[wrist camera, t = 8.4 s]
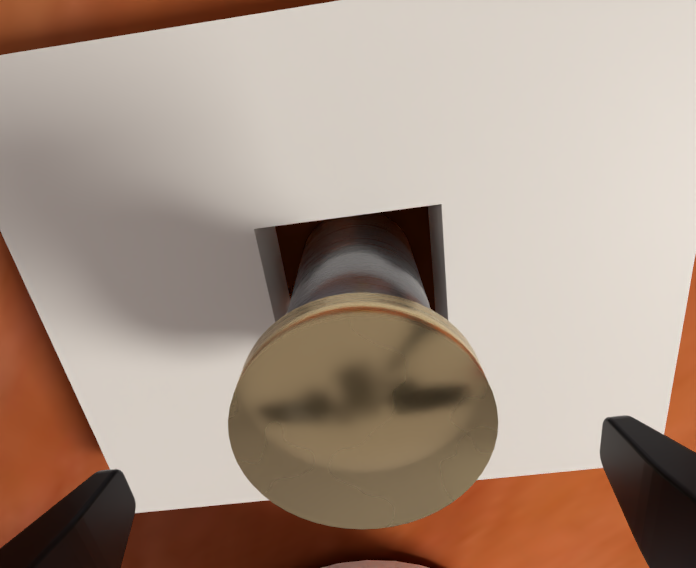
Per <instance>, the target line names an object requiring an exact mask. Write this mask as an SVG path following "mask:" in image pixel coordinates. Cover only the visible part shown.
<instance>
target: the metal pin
mask: <svg viewBox="0 0 696 568" xmlns="http://www.w3.org/2000/svg"><path fill="white" fill-rule="evenodd" d="M228 433H229V440H230V444H231V448H232V451H233V454H234V456H235V459H236V461H237V463H238V465H239V467H240V468H241V470H242V472H243V473H244V475H245V476H246V477H247V479H248V480H249V481H250V482H251V484H252V485H253V486H254V487H255V488H256V489H257V490H258V491H259V492H260V493H261V494H262V495H263V496H265V497H266V498H267V499H269V500H270V501H271V502H273V503H274V504H275V505H277V506H279V507H280V508H282V509H284V510H286V511H287V512H289V513H292V514H294V515H296V516H298V517H300V518H303V519H306V520H309V521H312V522H315V523H318V524H323V525H327V526H331V527H339V528H346V529H378V528H385V527H393V526H397V525H401V524H406V523H410V522H412V521H415V520H418V519H421V518H424V517H426V516H428V515H431V514H433V513H435V512H437V511H439V510H441V509H442V508H444V507H446V506H447V505H449V504H451V503H452V502H453V501H455V500H456V499H457V498H459V497H460V496H461V495H463V494H464V493H465V492H466V491H467V490H468V489H469V488H470V487H471V486H472V485H473V484H474V482H475V481H476V480H477V479H478V478H479V476H480V475H481V474H482V472H483V471H484V469H485V467H486V466H487V464H488V462H489V460H490V458H491V455H492V453H493V450H494V447H495V443H496V439H497V433H498V413H497V406H496V402H495V398H494V395H493V392H492V390H491V387H490V385H489V383H488V381H487V378H486V376H485V374H484V371H483V369H482V367H481V364H480V362H479V360H478V358H477V356H476V354H475V351H474V350H473V348H472V347H471V345H470V344H469V342H468V341H467V339H466V338H465V337H464V336H463V334H462V333H461V332H460V331H459V330H458V329H457V328H456V327H455V326H454V325H453V324H452V323H450V322H449V321H448V320H447V319H445V318H444V317H443V316H441V315H440V314H438V313H436V312H435V311H433V310H431V308H430V305H429V302H428V299H427V296H426V293H425V290H424V287H423V284H422V281H421V278H420V275H419V272H418V269H417V266H416V263H415V260H414V257H413V254H412V251H411V247H410V244H409V242H408V240H407V237H406V235H405V234H404V232H403V231H402V230H401V228H400V227H399V226H398V225H397V224H396V223H395V222H393V221H392V220H391V219H389V218H388V217H386V216H384V215H382V214H380V213H370V214H363V215H355V216H348V217H340V218H333V219H325V220H323V221H321V222H320V223H319V224H318V225H317V226H316V227H315V228H314V229H313V231H312V232H311V234H310V235H309V237H308V239H307V241H306V243H305V247H304V250H303V254H302V258H301V262H300V265H299V269H298V273H297V277H296V281H295V285H294V289H293V293H292V296H291V300H290V304H289V308H288V312H287V314H286V315H284V316H283V317H281V318H280V319H279V320H277V321H276V322H275V323H274V324H273V325H271V326H270V327H269V328H268V329H267V330H266V331H265V332H264V333H263V334H262V336H261V337H260V338H259V339H258V340H257V342H256V343H255V345H254V346H253V348H252V349H251V351H250V353H249V355H248V357H247V359H246V361H245V363H244V366H243V369H242V372H241V374H240V377H239V380H238V383H237V386H236V388H235V391H234V394H233V397H232V401H231V404H230V408H229V417H228Z"/></svg>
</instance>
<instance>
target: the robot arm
mask: <svg viewBox="0 0 696 568" xmlns="http://www.w3.org/2000/svg"><path fill="white" fill-rule="evenodd" d="M600 459H601V463H602V466H603V468H604V470H605V473H606V475H607V477H608V479H609V482H610V484H611V486H612V488H613V491H614V493H615V495H616V498H617V500H618V502H619V504H620V507H621V509H622V511H623V513H624V516H625V518H626V520H627V522H628V525H629V527H630V529H631V531H632V534H633V536H634V538H635V540H636V542H637V544H638V547H639V549H640V551H641V552H642V554H643V556H644V558H645V560H646V562H647V564H648V565H649V567H650V568H696V453H695V452H693V451H692V450H690V449H688V448H686V447H685V446H683V445H681V444H679V443H678V442H676V441H674V440H672V439H670V438H669V437H667V436H665V435H663V434H662V433H660V432H658V431H656V430H655V429H653V428H651V427H649V426H648V425H646V424H644V423H642V422H640V421H639V420H637V419H635V418H633V417H631V416H628V415H623V416H613V417H607V418H605V419H604V421H603V424H602V433H601V443H600ZM135 509H136V503H135V498H134V496H133V494H132V491H131V489H130V487H129V485H128V482H127V480H126V478H125V476H124V474H123V472H122V471H121V470H119V469H112V470H102V471H98V472H96V473H95V474H93V475H92V476H91V477H89V478H88V479H87V480H86V481H84V482H83V483H82V484H81V485H79V486H78V487H77V488H76V489H74V490H73V491H72V492H71V493H69V494H68V495H67V496H66V497H64V498H63V499H62V500H61V501H59V502H58V503H57V504H56V505H54V506H53V507H52V508H51V509H49V510H48V511H47V512H46V513H44V514H43V515H42V516H41V517H39V518H38V519H37V520H36V521H34V522H33V523H32V524H31V525H29V526H28V527H27V528H26V529H24V530H23V531H22V532H20V533H19V534H18V535H17V536H15V537H14V538H13V539H12V540H10V541H9V542H8V543H7V544H5V545H4V546H3V547H2V548H0V568H121V564H122V560H123V556H124V553H125V549H126V545H127V541H128V537H129V534H130V530H131V526H132V522H133V519H134V515H135Z"/></svg>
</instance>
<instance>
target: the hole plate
mask: <svg viewBox="0 0 696 568" xmlns="http://www.w3.org/2000/svg"><path fill="white" fill-rule="evenodd" d="M423 206H428V215H429V229H430V243H431V257H432V271H433V286H434V300H435V312H436V313H438V314H440V315H441V316H443V317H444V318H445V319H447V320H448V321H449V322H450V323H452V324H453V325H454V326H455V327H456V328H457V329H458V330H459V331H460V332H461V333H462V334H463V336H464V337H465V338H466V339H467V341H468V342H469V344H470V345H471V347H472V348H473V350H474V351H475V354H476V356H477V358H478V360H479V362H480V364H481V367H482V369H483V371H484V374H485V376H486V378H487V381H488V383H489V385H490V387H491V390H492V392H493V395H494V398H495V402H496V406H497V413H498V433H497V439H496V443H495V447H494V450H493V453H492V455H491V458H490V460H489V462H488V464H487V466H486V467H485V469H484V471H483V472H482V474H481V475H480V476H479V478H478V479H477V480H482V479H492V478H503V477H513V476H523V475H534V474H544V473H554V472H565V471H575V470H585V469H596V468H603V466H602V463H601V459H600V443H601V433H602V424H603V421H604V419H605V418H607V417H613V416H623V415H628V416H631V417H633V418H635V419H637V420H639V421H640V422H642V423H644V424H646V425H648V426H649V427H651V428H653V429H655V430H656V431H658V432H660V433H662V434H663V435H664V431H665V425H666V419H667V414H668V408H669V402H670V396H671V391H672V385H673V379H674V374H675V368H676V362H677V356H678V351H679V345H680V339H681V333H682V328H683V322H684V316H685V311H686V305H687V299H688V293H689V288H690V282H691V276H692V270H693V265H694V259H695V253H696V0H339V1H333V2H327V3H320V4H314V5H308V6H302V7H296V8H289V9H283V10H277V11H271V12H265V13H258V14H252V15H246V16H240V17H233V18H227V19H221V20H215V21H209V22H202V23H196V24H190V25H184V26H178V27H171V28H165V29H159V30H153V31H147V32H140V33H134V34H128V35H122V36H115V37H109V38H103V39H97V40H91V41H84V42H78V43H72V44H66V45H60V46H53V47H47V48H41V49H35V50H29V51H22V52H16V53H10V54H4V55H0V231H1V233H2V236H3V238H4V240H5V242H6V244H7V246H8V249H9V251H10V253H11V255H12V257H13V259H14V262H15V264H16V266H17V268H18V270H19V273H20V275H21V277H22V279H23V281H24V283H25V286H26V288H27V290H28V292H29V294H30V296H31V299H32V301H33V303H34V305H35V307H36V309H37V312H38V314H39V316H40V318H41V320H42V322H43V325H44V327H45V329H46V331H47V333H48V335H49V338H50V340H51V342H52V344H53V346H54V348H55V351H56V353H57V355H58V357H59V359H60V361H61V364H62V366H63V368H64V370H65V372H66V374H67V377H68V379H69V381H70V383H71V385H72V388H73V390H74V392H75V394H76V396H77V398H78V401H79V403H80V405H81V407H82V409H83V411H84V414H85V416H86V418H87V420H88V422H89V424H90V427H91V429H92V431H93V433H94V435H95V437H96V440H97V442H98V444H99V446H100V448H101V450H102V453H103V455H104V457H105V459H106V461H107V463H108V466H109V468H110V470H112V469H119V470H121V471H122V472H123V474H124V476H125V478H126V480H127V482H128V485H129V487H130V489H131V491H132V494H133V496H134V498H135V503H136V509H135V513H142V512H152V511H163V510H173V509H183V508H194V507H204V506H214V505H224V504H235V503H245V502H255V501H266V500H269V499H267V498H266V497H265V496H263V495H262V494H261V493H260V492H259V491H258V490H257V489H256V488H255V487H254V486H253V485H252V484H251V482H250V481H249V480H248V479H247V477H246V476H245V475H244V473H243V472H242V470H241V468H240V467H239V465H238V463H237V461H236V459H235V456H234V454H233V451H232V448H231V444H230V440H229V433H228V417H229V408H230V404H231V401H232V397H233V394H234V391H235V388H236V386H237V383H238V380H239V377H240V374H241V372H242V369H243V366H244V363H245V361H246V359H247V357H248V355H249V353H250V351H251V349H252V348H253V346H254V345H255V343H256V342H257V340H258V339H259V338H260V337H261V336H262V334H263V333H264V332H265V331H266V330H267V329H268V328H269V327H270V326H271V325H273V324H274V323H275V322H276V321H277V320H279V319H280V318H281V317H283V316H284V315H286V314H287V312H288V308H289V304H290V295H289V291H288V286H287V281H286V276H285V272H284V267H283V262H282V257H281V253H280V248H279V243H278V238H277V234H276V229H275V226H280V225H287V224H295V223H302V222H310V221H317V220H325V219H333V218H340V217H348V216H355V215H363V214H370V213H378V212H385V211H393V210H400V209H408V208H415V207H423Z"/></svg>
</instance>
